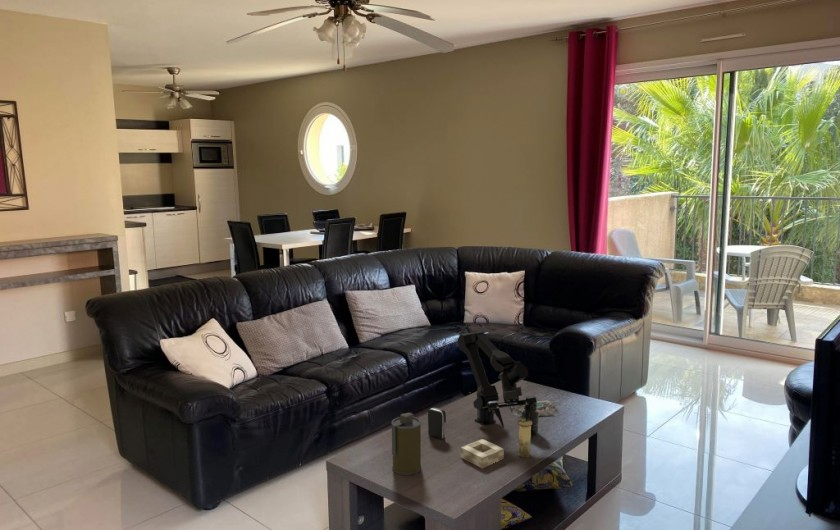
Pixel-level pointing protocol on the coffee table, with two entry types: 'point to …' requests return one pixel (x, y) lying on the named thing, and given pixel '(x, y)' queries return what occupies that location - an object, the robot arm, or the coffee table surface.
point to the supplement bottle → (532, 419)
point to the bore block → (482, 453)
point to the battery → (436, 422)
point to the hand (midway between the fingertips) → (515, 426)
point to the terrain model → (542, 408)
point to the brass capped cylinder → (524, 437)
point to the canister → (406, 444)
